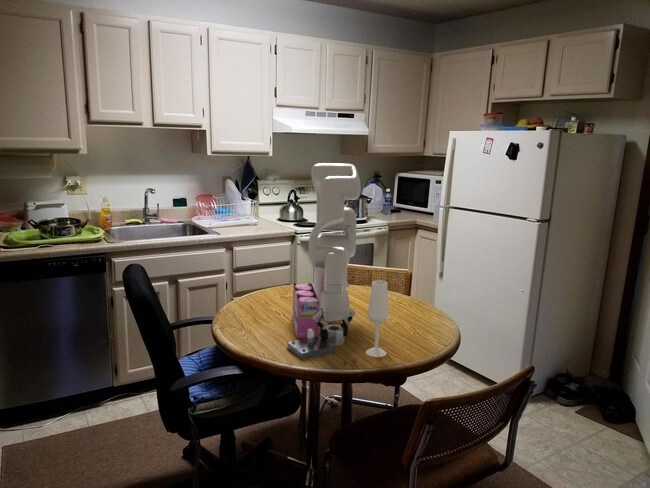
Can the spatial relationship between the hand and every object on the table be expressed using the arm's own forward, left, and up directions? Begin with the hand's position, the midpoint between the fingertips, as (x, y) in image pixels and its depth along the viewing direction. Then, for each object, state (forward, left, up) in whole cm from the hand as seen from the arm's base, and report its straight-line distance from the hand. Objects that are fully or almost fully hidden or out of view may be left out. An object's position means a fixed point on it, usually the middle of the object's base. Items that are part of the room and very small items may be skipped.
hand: (333, 336), depth 164 cm
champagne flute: (-8, +14, -2) cm, 16 cm away
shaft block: (+10, +2, -2) cm, 10 cm away
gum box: (+1, -18, -2) cm, 18 cm away
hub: (0, 0, -2) cm, 2 cm away
